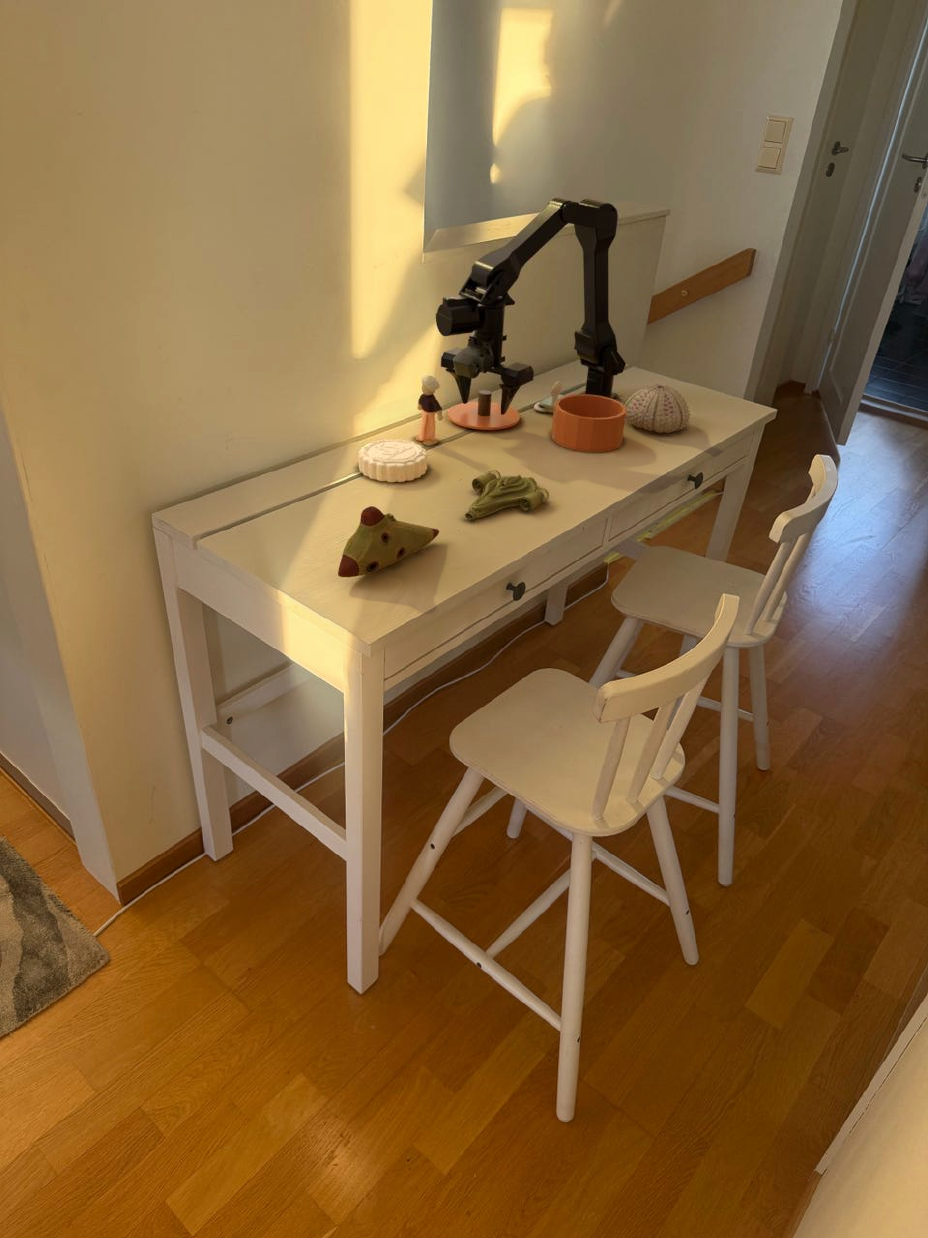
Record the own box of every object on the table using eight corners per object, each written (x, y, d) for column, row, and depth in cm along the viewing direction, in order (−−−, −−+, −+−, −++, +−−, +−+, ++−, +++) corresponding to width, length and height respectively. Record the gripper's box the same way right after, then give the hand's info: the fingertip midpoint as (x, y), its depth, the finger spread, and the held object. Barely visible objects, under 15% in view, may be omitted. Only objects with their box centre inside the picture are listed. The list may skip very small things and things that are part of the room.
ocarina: (426, 533, 137) (427, 473, 132) (451, 545, 134) (454, 485, 129) (326, 580, 124) (323, 516, 119) (352, 595, 121) (350, 529, 116)
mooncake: (388, 449, 164) (388, 431, 162) (440, 467, 159) (441, 448, 157) (344, 470, 156) (344, 450, 154) (398, 489, 150) (398, 469, 148)
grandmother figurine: (406, 438, 169) (407, 372, 162) (420, 433, 172) (422, 368, 165) (435, 450, 165) (437, 383, 158) (449, 445, 167) (452, 378, 161)
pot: (573, 420, 181) (577, 389, 178) (633, 437, 175) (638, 405, 171) (538, 439, 172) (541, 406, 168) (600, 458, 165) (605, 424, 162)
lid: (474, 401, 188) (476, 375, 185) (533, 418, 181) (535, 391, 178) (432, 420, 178) (433, 392, 175) (493, 438, 171) (494, 410, 168)
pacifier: (528, 411, 185) (554, 417, 182) (530, 382, 181) (556, 387, 179) (543, 402, 190) (569, 407, 188) (545, 373, 187) (571, 377, 184)
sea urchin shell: (646, 408, 189) (652, 371, 185) (701, 426, 181) (709, 388, 177) (608, 422, 181) (613, 384, 177) (664, 442, 173) (671, 402, 169)
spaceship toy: (436, 508, 145) (437, 488, 143) (502, 475, 157) (503, 456, 155) (498, 532, 139) (499, 512, 137) (561, 496, 151) (563, 477, 149)
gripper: (423, 328, 169) (422, 408, 177) (505, 348, 160) (500, 431, 169) (458, 317, 177) (455, 394, 185) (538, 336, 168) (531, 415, 176)
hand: (483, 408), depth 178 cm, fingers open, 9 cm apart
